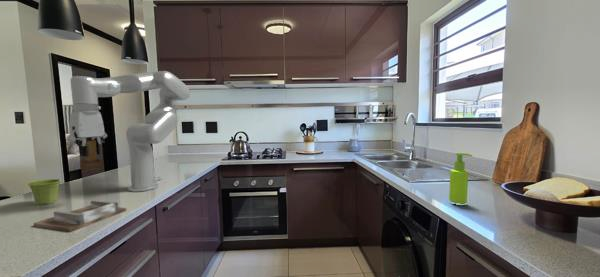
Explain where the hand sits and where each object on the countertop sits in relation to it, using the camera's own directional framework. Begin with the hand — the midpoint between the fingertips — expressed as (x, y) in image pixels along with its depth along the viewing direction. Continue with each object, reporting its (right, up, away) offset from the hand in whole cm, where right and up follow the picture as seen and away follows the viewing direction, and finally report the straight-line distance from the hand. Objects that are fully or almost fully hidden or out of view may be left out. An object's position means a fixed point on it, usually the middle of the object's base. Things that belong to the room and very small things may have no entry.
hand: (90, 154), depth 100 cm
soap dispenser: (+146, -19, -1) cm, 148 cm away
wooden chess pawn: (0, -5, +1) cm, 6 cm away
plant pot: (-20, -20, +2) cm, 28 cm away
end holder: (+9, -21, -14) cm, 27 cm away
